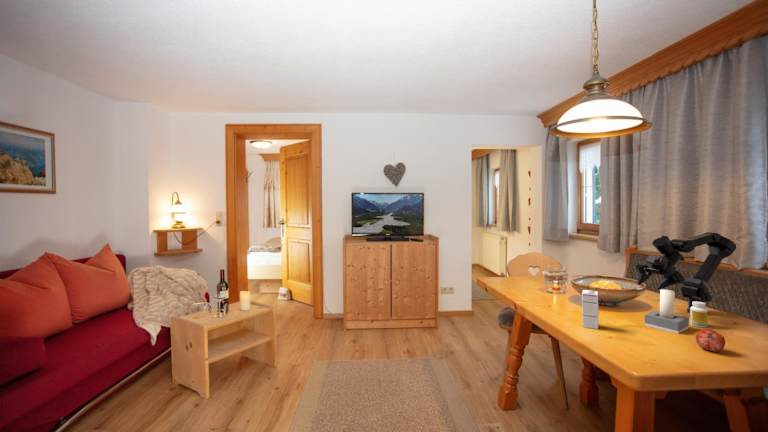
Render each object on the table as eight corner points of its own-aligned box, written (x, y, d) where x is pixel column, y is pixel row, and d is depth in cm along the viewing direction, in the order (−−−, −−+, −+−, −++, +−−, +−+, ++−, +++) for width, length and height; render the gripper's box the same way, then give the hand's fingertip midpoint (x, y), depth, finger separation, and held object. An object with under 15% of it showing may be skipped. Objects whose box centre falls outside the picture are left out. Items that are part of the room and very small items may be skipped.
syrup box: (598, 329, 137) (598, 294, 136) (581, 326, 140) (582, 292, 139) (598, 325, 141) (598, 291, 141) (582, 322, 145) (582, 289, 144)
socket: (655, 320, 147) (656, 310, 146) (688, 328, 137) (688, 317, 137) (644, 325, 141) (644, 314, 141) (678, 333, 131) (678, 322, 131)
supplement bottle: (710, 328, 137) (711, 304, 137) (695, 327, 138) (695, 304, 138) (701, 323, 142) (701, 300, 142) (686, 322, 143) (686, 300, 143)
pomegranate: (695, 350, 122) (688, 338, 117) (703, 332, 123) (696, 320, 118) (723, 360, 115) (717, 348, 111) (731, 342, 117) (725, 329, 112)
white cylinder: (657, 321, 142) (658, 288, 141) (670, 323, 140) (671, 289, 140) (662, 325, 138) (663, 291, 137) (676, 326, 136) (677, 292, 136)
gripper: (638, 246, 161) (618, 270, 159) (679, 252, 143) (657, 279, 141) (652, 262, 163) (632, 286, 161) (694, 269, 144) (672, 296, 143)
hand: (647, 286), depth 151 cm, fingers open, 9 cm apart
